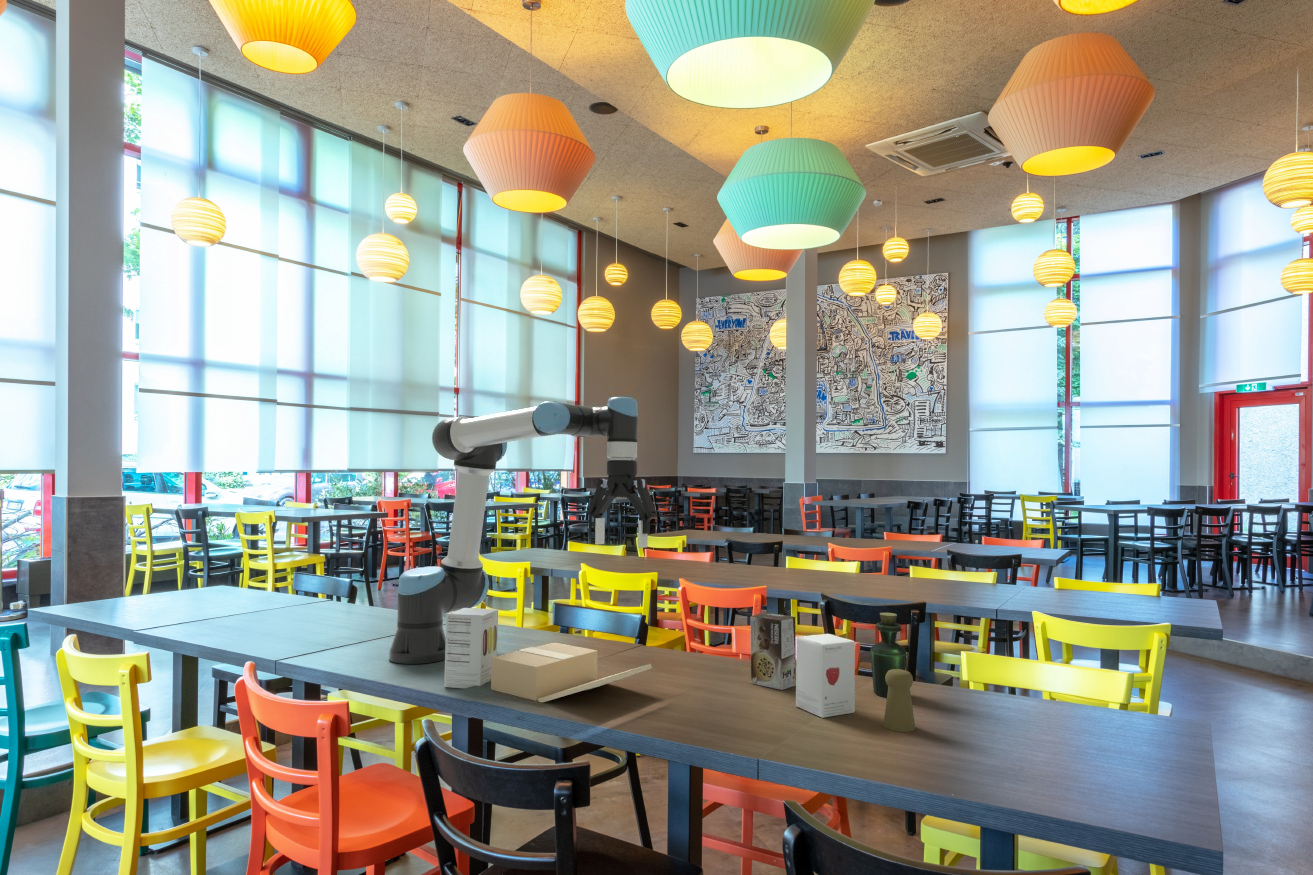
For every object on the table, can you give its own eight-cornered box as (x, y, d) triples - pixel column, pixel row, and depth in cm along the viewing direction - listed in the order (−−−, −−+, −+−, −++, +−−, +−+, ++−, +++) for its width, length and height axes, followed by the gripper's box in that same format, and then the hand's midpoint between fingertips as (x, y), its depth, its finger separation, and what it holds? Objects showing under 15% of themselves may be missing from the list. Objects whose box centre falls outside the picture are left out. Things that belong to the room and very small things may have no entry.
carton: (490, 693, 170) (491, 656, 170) (553, 675, 186) (553, 641, 186) (535, 705, 161) (536, 666, 162) (597, 685, 177) (598, 649, 178)
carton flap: (537, 698, 161) (591, 682, 152) (599, 679, 177) (650, 663, 169) (539, 704, 161) (592, 688, 152) (600, 684, 177) (652, 668, 168)
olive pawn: (911, 733, 146) (910, 675, 146) (879, 727, 149) (879, 671, 150) (918, 725, 151) (918, 669, 152) (887, 719, 154) (887, 664, 155)
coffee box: (797, 685, 179) (797, 616, 180) (781, 690, 174) (781, 619, 175) (765, 678, 185) (765, 611, 186) (749, 683, 181) (749, 614, 182)
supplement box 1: (480, 690, 172) (482, 615, 173) (442, 687, 174) (444, 613, 175) (497, 679, 181) (499, 608, 182) (461, 677, 183) (463, 606, 184)
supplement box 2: (822, 718, 154) (822, 644, 155) (794, 706, 162) (794, 635, 163) (856, 712, 159) (856, 640, 159) (828, 701, 166) (827, 632, 167)
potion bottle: (873, 687, 178) (873, 609, 179) (909, 691, 175) (909, 612, 176) (866, 695, 171) (866, 615, 172) (904, 700, 167) (904, 618, 168)
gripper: (671, 459, 184) (671, 547, 183) (593, 460, 199) (592, 541, 197) (653, 458, 178) (652, 550, 177) (574, 459, 193) (573, 543, 191)
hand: (620, 545), depth 187 cm, fingers open, 13 cm apart
